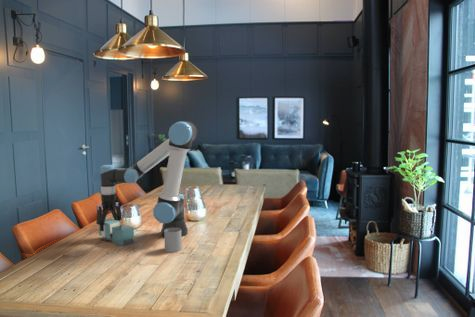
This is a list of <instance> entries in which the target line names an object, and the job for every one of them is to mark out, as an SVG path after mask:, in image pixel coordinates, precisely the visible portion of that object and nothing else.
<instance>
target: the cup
mask: <svg viewBox="0 0 475 317" xmlns="http://www.w3.org/2000/svg"><path fill="white" fill-rule="evenodd" d="M163 237H164V251H165V252H167V253H177V252H180V251H182V250H183V248H182V246H183V245H182V244H183V243H182V236H181V229H180V228H168V229H165V230H164V236H163Z"/></svg>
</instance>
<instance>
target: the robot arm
mask: <svg viewBox="0 0 475 317" xmlns="http://www.w3.org/2000/svg"><path fill="white" fill-rule="evenodd" d="M197 135H198V129H197V127H196V126H195V124H194V123H193V122H191V121H182V120H181V121H177V122H175V123H173V124H172V125H171V126H170V127H169V130H168V138H167V139H166V140H165V141H163V142H162V143H161V144H159V145H158V146H156V147H155V148H154V149H153V150H152V151H151V152H149V153H148V154H146V155H145V156H144V157H142V158H141V159H140V160H138V161H137V162H136V163H134V164H133V165H132V166H130V167H126V168H116V166H115V165H114V164H103V165H101V166H100V170H99V171H100V172H99V176H100V193H101V194H100V200H101V204H100V205H97V206H96V223H95V224H96V225H98V226H99V225H100V231H101V236H100V237H102V238H103V237H106V232H105V225H104V222H105V220H106V219H107V216H108V215H107V214H108V213H109V212H111V215H112V218H113V220H117V221H122V219H123V218H122V212H121V202H117V196H116V193H117V192H116V191H117V190H116V189H117V188H116V184H135V183H137V181H138V180H139V179H140V178H142V177H143V175H145V174H146V173H147V172H149V171H150V170H151V169H152V168H154V167H155V166H157V165H158V164H159V163H160V162H162V161H163V160H165V159H167V157H168V162H167V165H166V172H165V176H164V181H163V187H162V191H161V193H159V194H158V197H157V202H156V204H155V205H154V207H153V210H152V212H153V213H152V214H153V217H154V219H155V220H156V221H158V223H161V224H162V228H161V230H160V235H161V236H162V237H164V230H165V229H168V228H180V229H181V237H183V236H187V235H188V233H189V231H188V227H187V223H186V220H185V196H184V194H182V193H180V188H181V183H182V177H183V172H184V168H185V163H186V159H187V158H186V157H187V153H188V152H189V151H191V149H192V148H191V147H192V144H193V142H194V140H196V138H197Z"/></svg>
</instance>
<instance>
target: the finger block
mask: <svg viewBox="0 0 475 317" xmlns="http://www.w3.org/2000/svg"><path fill="white" fill-rule="evenodd" d="M120 221H121V220H120ZM120 221H117V220H114V218H113V219H112V218H106V219H105V222H104V225H105V232H106V238H111V234H112V227H115V226H119V225H121V222H120ZM98 236H100V237H102V236H101V231H100V225H98Z"/></svg>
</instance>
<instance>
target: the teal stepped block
mask: <svg viewBox="0 0 475 317" xmlns="http://www.w3.org/2000/svg"><path fill="white" fill-rule="evenodd" d="M134 231H135V226H130V225H127V224H120V225H119V226H115V227H112V234H111V238H106V237H102V240H106V241H109V242H112V244H114V245H118V246H122V247H125V246H128V245H131V244H134V243H135V235H134V234H135V232H134Z"/></svg>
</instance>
